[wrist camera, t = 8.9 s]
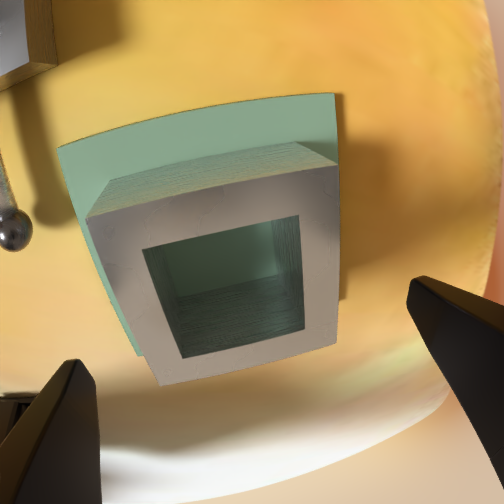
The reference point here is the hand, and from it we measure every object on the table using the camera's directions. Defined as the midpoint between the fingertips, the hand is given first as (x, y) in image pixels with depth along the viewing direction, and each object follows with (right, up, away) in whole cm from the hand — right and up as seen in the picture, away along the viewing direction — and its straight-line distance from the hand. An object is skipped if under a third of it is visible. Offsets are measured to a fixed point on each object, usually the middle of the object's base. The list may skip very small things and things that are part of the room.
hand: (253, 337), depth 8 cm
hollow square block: (-1, +2, +5) cm, 5 cm away
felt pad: (-1, +3, +5) cm, 6 cm away
